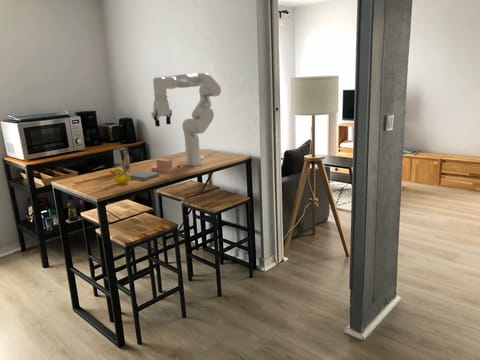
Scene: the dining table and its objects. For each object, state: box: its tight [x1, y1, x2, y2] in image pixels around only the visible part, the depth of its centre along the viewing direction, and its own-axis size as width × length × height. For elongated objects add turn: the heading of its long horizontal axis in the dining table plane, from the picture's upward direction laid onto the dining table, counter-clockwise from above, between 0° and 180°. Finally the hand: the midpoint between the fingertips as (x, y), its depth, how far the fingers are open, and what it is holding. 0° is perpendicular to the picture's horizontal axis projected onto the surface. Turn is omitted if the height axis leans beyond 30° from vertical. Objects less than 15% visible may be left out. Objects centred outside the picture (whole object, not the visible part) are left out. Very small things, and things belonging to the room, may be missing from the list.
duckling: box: [109, 167, 131, 185], centre depth 231 cm, size 11×5×10 cm, turn 96°
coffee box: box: [112, 147, 131, 176], centre depth 256 cm, size 9×6×16 cm
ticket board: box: [129, 169, 160, 182], centre depth 246 cm, size 12×16×2 cm
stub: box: [151, 158, 179, 174], centre depth 260 cm, size 8×16×7 cm, turn 56°
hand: (163, 125), depth 249 cm, fingers open, 9 cm apart
